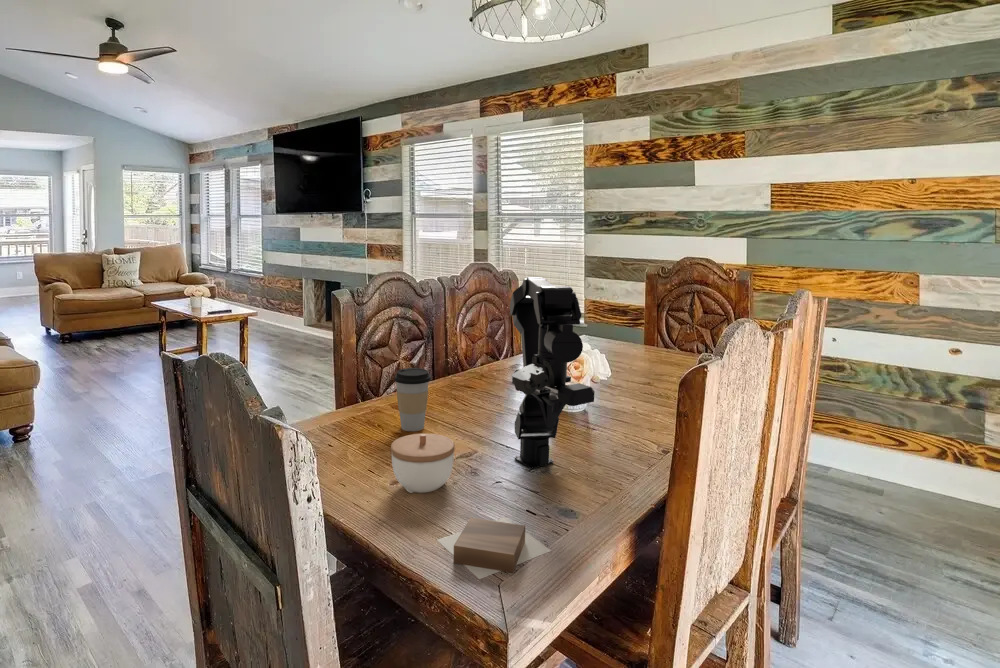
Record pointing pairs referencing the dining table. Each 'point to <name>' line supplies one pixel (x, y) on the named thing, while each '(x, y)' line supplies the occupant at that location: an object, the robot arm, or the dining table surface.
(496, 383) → the dining table surface
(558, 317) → the robot arm
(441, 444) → the lidded bowl
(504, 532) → the walnut slab
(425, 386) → the coffee cup
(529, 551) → the felt mat
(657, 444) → the dining table surface
